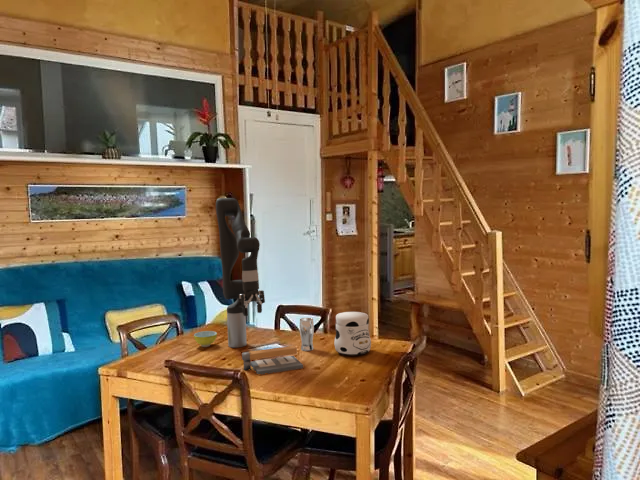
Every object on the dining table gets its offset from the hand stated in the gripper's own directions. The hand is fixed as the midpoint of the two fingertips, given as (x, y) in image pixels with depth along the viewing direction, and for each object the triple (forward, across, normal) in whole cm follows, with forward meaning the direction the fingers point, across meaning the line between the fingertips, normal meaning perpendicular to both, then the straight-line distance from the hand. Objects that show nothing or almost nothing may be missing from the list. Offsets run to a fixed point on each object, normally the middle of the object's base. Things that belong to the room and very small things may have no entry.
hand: (252, 314), depth 227 cm
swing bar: (+16, +6, +16) cm, 24 cm away
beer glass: (+20, -22, +13) cm, 33 cm away
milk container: (+22, -31, +34) cm, 51 cm away
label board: (+21, +5, +19) cm, 28 cm away
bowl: (+18, +4, -33) cm, 38 cm away
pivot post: (+21, +14, +11) cm, 27 cm away
